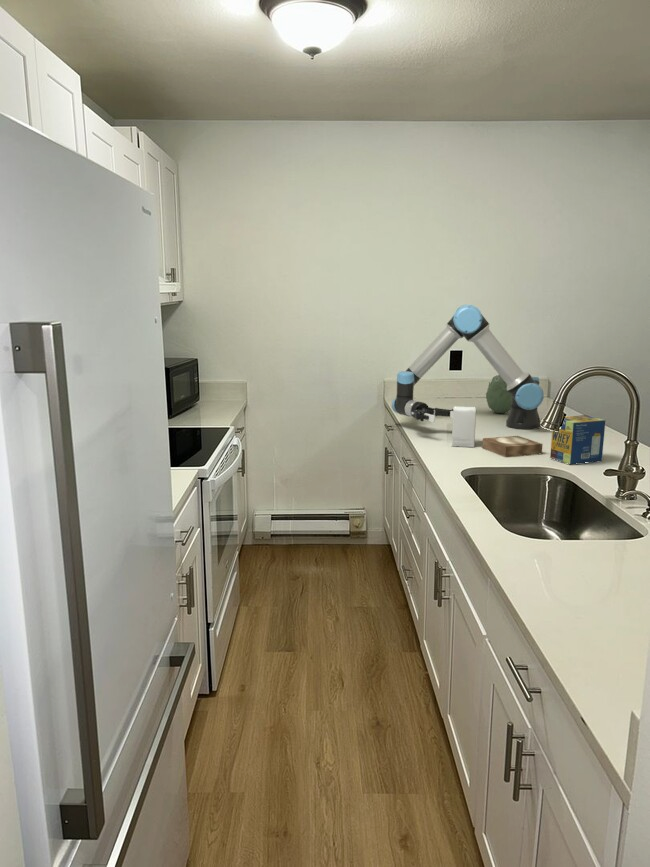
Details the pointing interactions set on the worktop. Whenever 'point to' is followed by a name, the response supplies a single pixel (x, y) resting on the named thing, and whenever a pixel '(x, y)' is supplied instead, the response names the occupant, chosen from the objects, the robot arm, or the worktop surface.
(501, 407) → the cabbage
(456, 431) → the supplement box
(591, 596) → the worktop surface
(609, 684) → the worktop surface
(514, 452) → the pedestal
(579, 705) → the worktop surface
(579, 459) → the protein box
